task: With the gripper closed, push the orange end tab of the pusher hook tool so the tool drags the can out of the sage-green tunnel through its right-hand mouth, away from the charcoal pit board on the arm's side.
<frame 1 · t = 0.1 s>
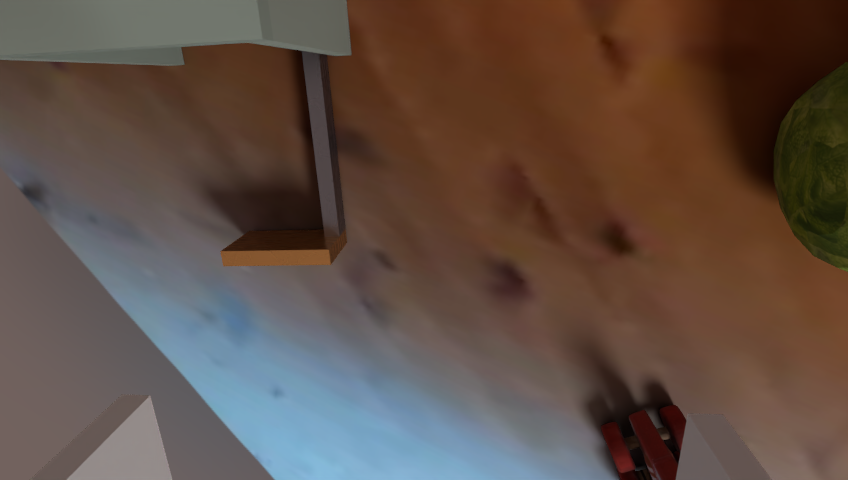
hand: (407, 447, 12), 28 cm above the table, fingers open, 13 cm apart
toy fire truck: (646, 443, 45), on the table
pusher hook tool: (246, 65, 33), point 3 cm above the table, slide at 0.0 cm
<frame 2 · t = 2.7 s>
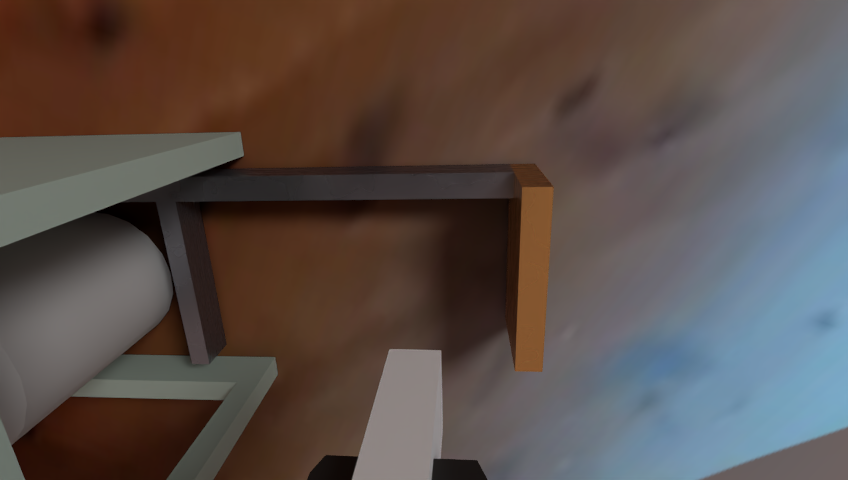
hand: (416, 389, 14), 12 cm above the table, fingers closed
can: (120, 268, 27), on the table
tunnel: (149, 264, 27), on the table
pusher hook tool: (246, 281, 24), point 3 cm above the table, slide at 0.0 cm
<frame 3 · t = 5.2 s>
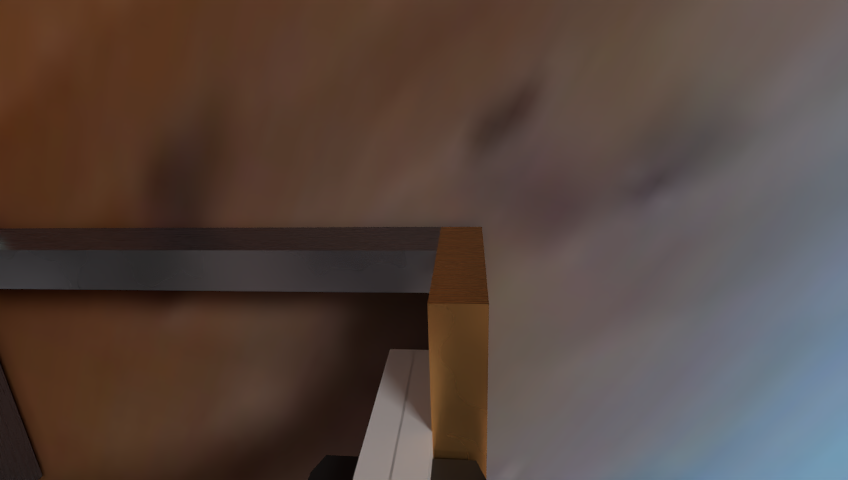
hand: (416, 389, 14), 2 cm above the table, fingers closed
pusher hook tool: (18, 413, 15), point 3 cm above the table, slide at 1.2 cm, touching can, gripper
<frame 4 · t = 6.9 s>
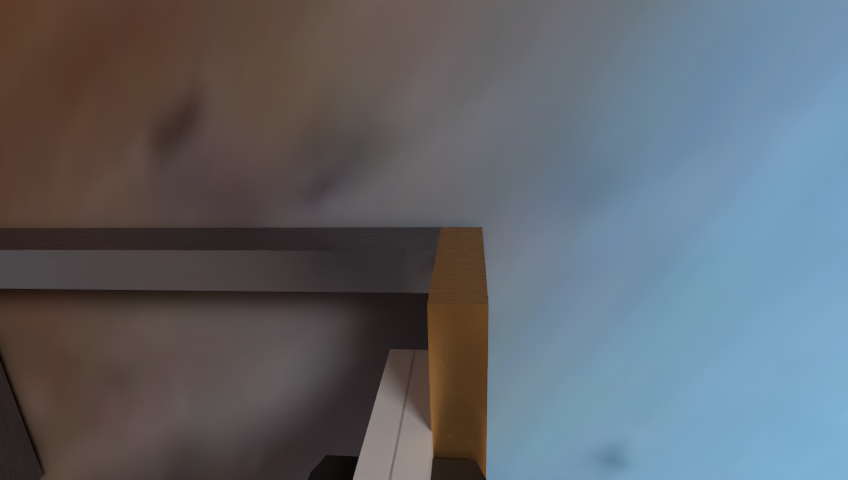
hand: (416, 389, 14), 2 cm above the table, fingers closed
pusher hook tool: (18, 413, 15), point 3 cm above the table, slide at 10.9 cm, touching gripper
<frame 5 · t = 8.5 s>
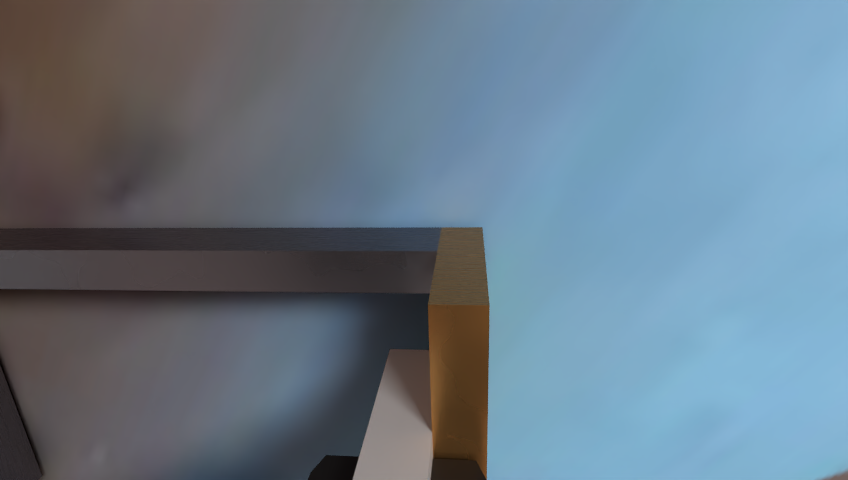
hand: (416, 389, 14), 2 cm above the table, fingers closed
pusher hook tool: (17, 413, 15), point 3 cm above the table, slide at 17.4 cm, touching can, gripper
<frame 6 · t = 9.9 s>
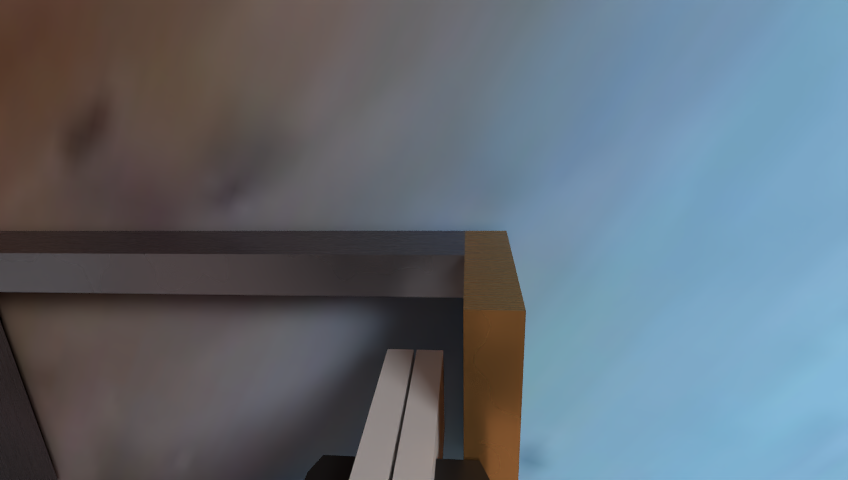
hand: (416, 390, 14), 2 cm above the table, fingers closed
pusher hook tool: (37, 417, 14), point 3 cm above the table, slide at 14.5 cm
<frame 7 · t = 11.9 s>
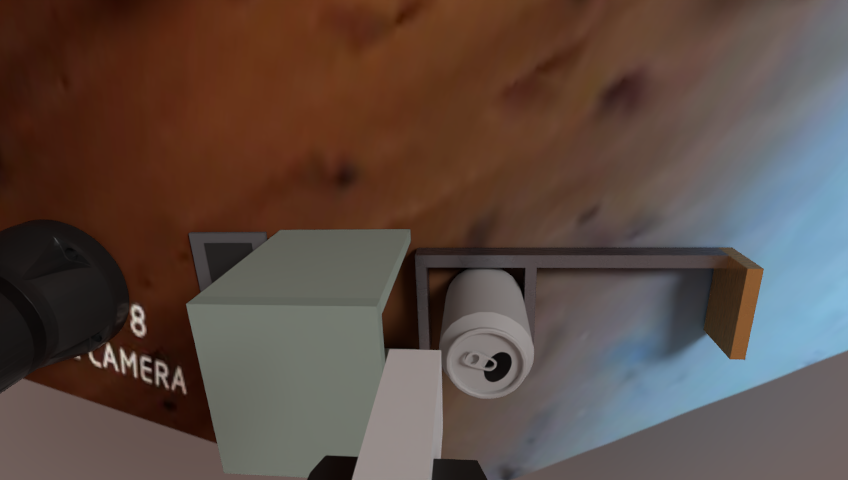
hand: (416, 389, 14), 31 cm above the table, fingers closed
can: (483, 296, 47), on the table
tunnel: (350, 296, 48), on the table
pusher hook tool: (570, 310, 43), point 3 cm above the table, slide at 14.5 cm
pit board: (239, 295, 50), on the table
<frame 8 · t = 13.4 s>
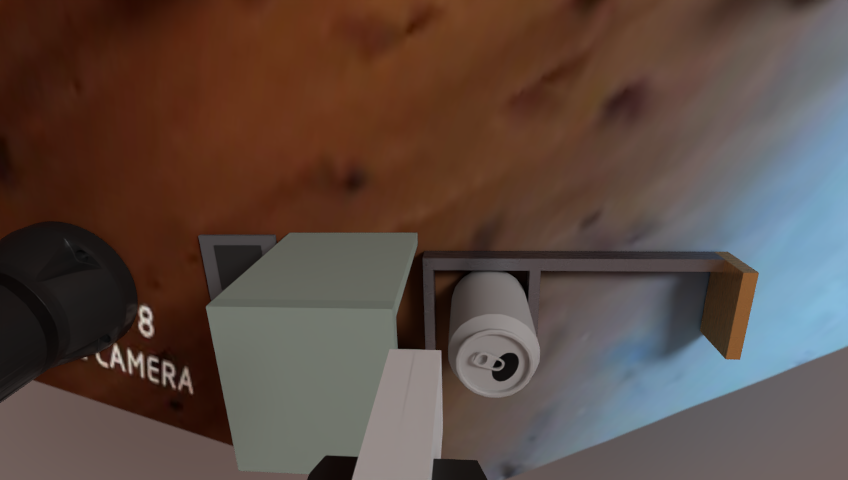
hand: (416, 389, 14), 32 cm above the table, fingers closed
can: (488, 297, 48), on the table
tunnel: (357, 298, 50), on the table
pusher hook tool: (573, 311, 45), point 3 cm above the table, slide at 14.5 cm
pit board: (247, 296, 51), on the table
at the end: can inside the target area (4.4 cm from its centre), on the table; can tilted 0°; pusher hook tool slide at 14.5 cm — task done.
